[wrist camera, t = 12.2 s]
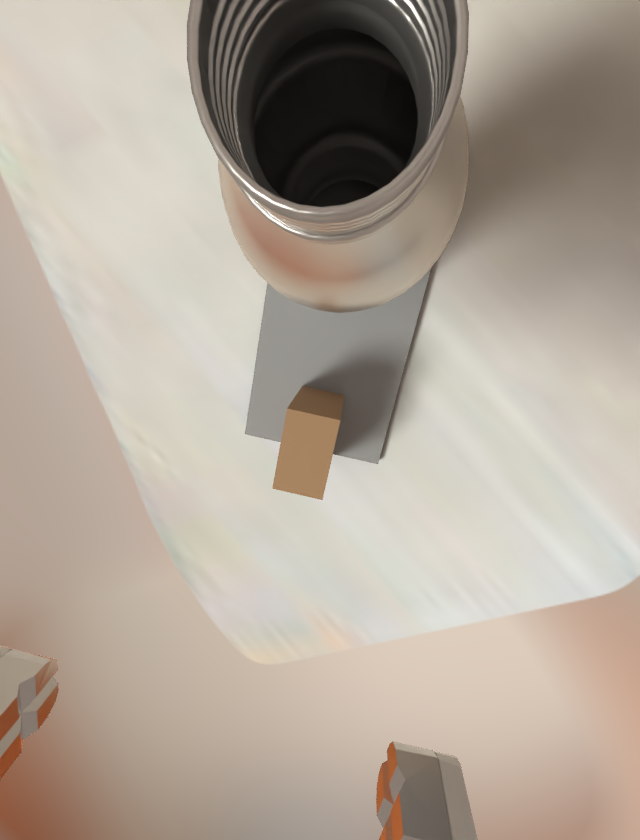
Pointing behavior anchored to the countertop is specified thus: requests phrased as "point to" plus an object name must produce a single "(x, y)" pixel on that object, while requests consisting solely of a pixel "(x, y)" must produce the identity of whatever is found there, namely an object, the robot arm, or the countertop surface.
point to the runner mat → (328, 383)
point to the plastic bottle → (335, 138)
